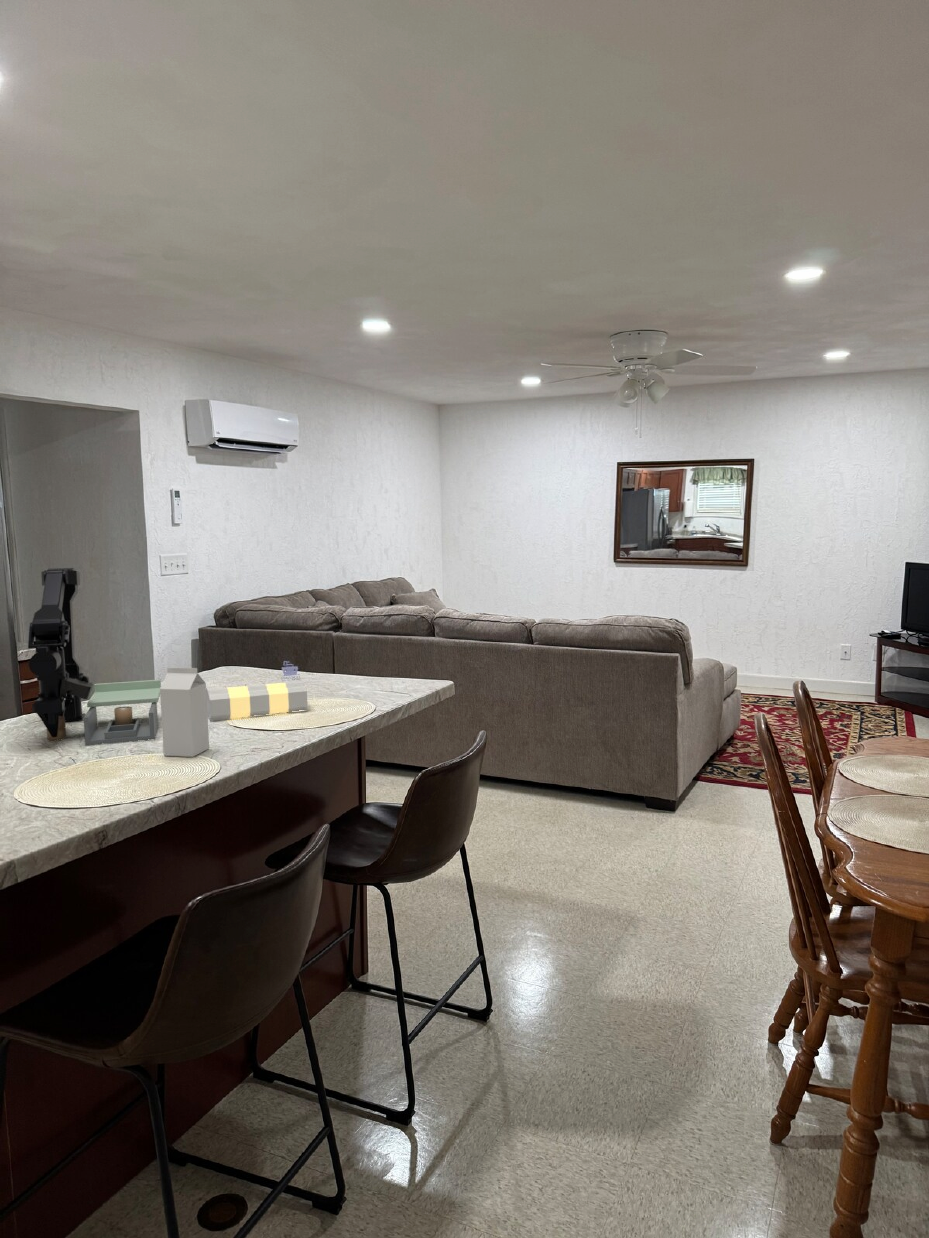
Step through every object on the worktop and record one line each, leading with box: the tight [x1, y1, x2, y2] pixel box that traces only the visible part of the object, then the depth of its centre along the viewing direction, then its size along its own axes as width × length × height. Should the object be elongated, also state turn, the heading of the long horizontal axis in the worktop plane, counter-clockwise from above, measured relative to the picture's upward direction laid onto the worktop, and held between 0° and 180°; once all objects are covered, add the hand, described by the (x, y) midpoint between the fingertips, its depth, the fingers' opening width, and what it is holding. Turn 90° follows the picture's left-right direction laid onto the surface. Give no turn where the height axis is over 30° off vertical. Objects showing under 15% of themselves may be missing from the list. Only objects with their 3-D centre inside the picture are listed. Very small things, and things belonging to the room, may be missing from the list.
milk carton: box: [159, 667, 210, 758], centre depth 185 cm, size 7×7×19 cm
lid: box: [86, 679, 162, 708], centre depth 211 cm, size 15×16×3 cm
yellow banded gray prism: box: [206, 660, 308, 722], centre depth 223 cm, size 25×10×13 cm, turn 113°
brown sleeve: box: [46, 716, 67, 742], centre depth 200 cm, size 4×4×5 cm
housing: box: [83, 702, 159, 746], centre depth 202 cm, size 14×15×6 cm
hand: (56, 734), depth 200 cm, fingers open, 5 cm apart
